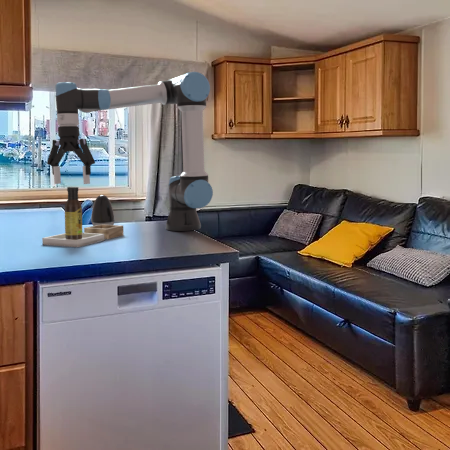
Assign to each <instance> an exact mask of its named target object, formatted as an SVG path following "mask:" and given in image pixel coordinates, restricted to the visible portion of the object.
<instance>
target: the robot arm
mask: <svg viewBox="0 0 450 450" xmlns="http://www.w3.org/2000/svg"><path fill="white" fill-rule="evenodd" d="M210 91H211V85H210V81H209V80H208V78H207V77H206V75H204V74H202V73H201V72H198V71H188V72H185V73H184V74H181V75H178V76H176V77H174V78H171V79H168V80H162V81H158V83H157V84H150V85H149V84H148V85H140V86H133V87H123V88H115V89H103V88H78V87H77V83H76V82H73V81H72V82H71V81H62V82H61V81H60V82H57V83H56V84H55V95H54V98H55V104H56V105H55V107H56V119H57V121H56V122H57V126H58V127H57V133H58V137H59V139H53V140H52V146H51V149H50V153H49V156H48V159H47V162H46V165H50V166H51V168H52V169H51V171H52V172H51V173H52V175H53V182H54V185H59V184H62V182H61V181H62V180H61V179H62V177H61V166H60V165H59V164H60V162H61V160H62V159H63V158H64V155H65V154H66V153H67V152H73V153H74V154H76V156H77V157H78V159H79V160H80V161H81V162H82V164H83V166H82V178H83V179H82V180H83V185H89V184H91V178H90V177H91V174H92V171H91V170H92V168H91V167H92V165H94V164H95V163H96V161H95V159H94V157H93V154H92V153H91V150H90V148H89V146H88V143H87V138H79V137H80V127H79V125H80V122H79V121H80V120H79V119H80V118H79V111H80V112H81V113H86V114H89V113H92V112H99V111H106V110H113V109H122V108H129V107H137V106H146V105H153V104H161V105H164V106H165V105H176V106H177V107H176V108H177V109H178V110H179V111H180V112H181V136H182V137H181V138H182V140H181V141H182V142H181V143H182V163H183V164H182V166H183V169H182V170H183V171H182V172H181V174H180V175H175V176H171V177H170V178H169V179H168V192H169V193H168V195H169V197H168V199H169V200H168V201H169V213H168V217H167V220H166V223H165V229H166V230H167V231H172V232H189V231H190V232H191V231H197V230H198V231H199V230H200V229H201V227H202V224H201V221H200V217H199V215H198V213H197V209H201V208H202V209H203V208H204V207H207V205H209V204H210V203H211V201H212V198H213V195H214V194H213V193H214V192H213V191H214V190H213V187H212V185H211V184H210V183H209V174H208V173H207V171H205V153H204V152H205V149H204V148H205V147H204V146H205V145H204V119H203V118H204V113H203V112H204V110H205V109H206V108H207V98H208V96H209V94H210Z"/></svg>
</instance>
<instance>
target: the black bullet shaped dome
mask: <svg viewBox="0 0 450 450" xmlns="http://www.w3.org/2000/svg"><path fill="white" fill-rule="evenodd" d="M90 217H91V218H90V221H91V223H92V226H96V225H101V224H103V225H115V222H116V219H115V217H116V216H115V212H114V209H113V205H112V202H111V201H110V198H109V197H108V196H107V195H104V194H100V195H98V196H97V197H96V198H95V200H94V202H93V206H92V210H91V216H90Z"/></svg>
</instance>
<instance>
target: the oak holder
mask: <svg viewBox="0 0 450 450" xmlns="http://www.w3.org/2000/svg"><path fill="white" fill-rule="evenodd" d="M83 233H96V234H104V240H111V239H114V238H118V237H122V236H124V235H125V232H124V225H118V224H114V225H103V224H101V225H96V226H93V225H92V226H86V227H84V228H83Z"/></svg>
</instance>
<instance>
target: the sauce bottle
mask: <svg viewBox="0 0 450 450" xmlns="http://www.w3.org/2000/svg"><path fill="white" fill-rule="evenodd" d="M66 191H67V199H66V200H67V201H66V202H65V203H64V233H65V235H66V239H71V240H78V239H82V233H83V207H82V204H81V202H80V200H79V187H78V186H67V187H66Z"/></svg>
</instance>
